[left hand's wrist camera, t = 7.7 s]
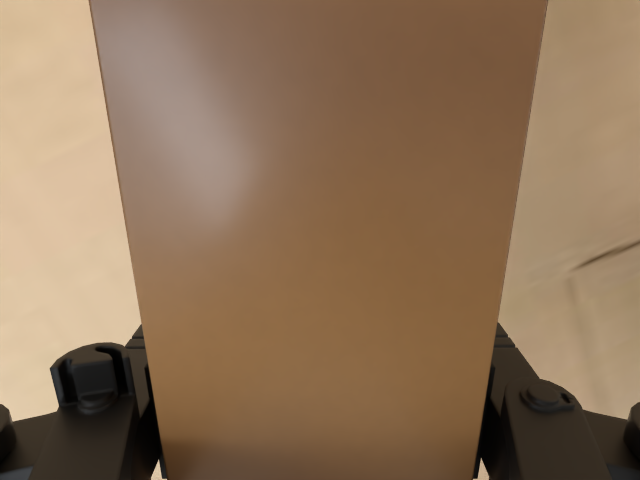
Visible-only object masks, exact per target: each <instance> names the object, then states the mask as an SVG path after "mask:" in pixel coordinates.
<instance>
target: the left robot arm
mask: <svg viewBox="0 0 640 480" xmlns="http://www.w3.org/2000/svg"><path fill="white" fill-rule="evenodd" d="M50 371H51V375H52V379H53V383H54V387H55V391H56V395H57V399H58V403H59V408H58V410H57V412H53V413H50V414H46V415H42V416H37V417H33V418H28V419H23V420H19V421H14V422H12V419H11V415H10V412H9V410H8V409H7V408H6V407H5V406H3V405H2V404H0V480H151V476H152V474H153V471H154V469H155V467H156V464H157V462H158V460H159V462H160V468H161V474H162V479H167V475H166V469H165V463H164V457H163V451H162V445H161V439H160V432H159V426H158V420H157V414H156V408H155V402H154V396H153V390H152V384H151V378H150V371H149V365H148V359H147V353H146V347H145V341H144V335H143V329H142V324H141V325H140V326H139V328H138V329H137V331H136V332H135V333H134V335H133V336H132V339H130V340H129V342H128V343H127V344H126V346H125V347H124V346H123V345H120V344H116V343H112V342H110V343H95V344H91V345H86V346H82V347H80V348H77V349H75V350H72V351H70V352H68V353H66V354H65V355H63V356H62V357H60V358H59V359H57V360H56V362H55V363H54V364H53V365H52V366H51V368H50ZM481 458H482V461H483V463H484V465H485V468H486V470H487V472H488V475H489V480H640V402H638V403H637V404H635V405H634V406H633V407H632V408H631V411H630V414H629V417H628V420H626V419H621V418H616V417H612V416H607V415H602V414H598V413H593V412H590V411H586V410H583V409H582V407H581V405H580V404H579V402H578V401H577V399H576V398H575V397H574V396H573V395H572V394H571V393H569V392H568V391H567V390H565V389H564V388H563V387H561V386H558V385H556V384H554V383H552V382H550V381H546V380H542V379H540V378H539V377H538V376H537V374H536V373H535V372H534V370H533V369H532V367H531V366H530V365H529V363H528V362H527V361H526V359H525V358H524V357H523V355H522V354H521V352H520V351H519V350H518V348H515V344H514V343H513V342H512V340H511V339H510V338H508V335H507V333H506V332H505V331H504V329H503V328H502V327H501V325H500V324H499V323H498V322H497V328H496V334H495V341H494V347H493V354H492V360H491V366H490V373H489V379H488V385H487V392H486V398H485V404H484V411H483V417H482V424H481V430H480V436H479V443H478V449H477V455H476V462H475V468H474V475H473V479H477V478H478V472H479V466H480V460H481Z"/></svg>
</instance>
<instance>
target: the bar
mask: <svg viewBox="0 0 640 480" xmlns="http://www.w3.org/2000/svg"><path fill="white" fill-rule="evenodd" d="M547 3H548V0H89V5H90V11H91V17H92V23H93V29H94V35H95V42H96V48H97V54H98V60H99V66H100V72H101V78H102V84H103V90H104V97H105V103H106V109H107V115H108V121H109V127H110V133H111V139H112V145H113V152H114V158H115V164H116V170H117V176H118V182H119V188H120V194H121V200H122V206H123V213H124V219H125V225H126V231H127V237H128V243H129V249H130V255H131V261H132V268H133V274H134V280H135V286H136V292H137V298H138V304H139V310H140V316H141V323H142V329H143V335H144V341H145V347H146V353H147V359H148V365H149V371H150V378H151V384H152V390H153V396H154V402H155V408H156V414H157V420H158V426H159V432H160V439H161V445H162V451H163V457H164V463H165V469H166V475H167V480H473V475H474V468H475V462H476V455H477V449H478V443H479V436H480V430H481V424H482V417H483V411H484V404H485V398H486V392H487V385H488V379H489V373H490V366H491V360H492V354H493V347H494V341H495V334H496V328H497V322H498V315H499V309H500V303H501V296H502V290H503V283H504V277H505V271H506V264H507V258H508V252H509V245H510V239H511V232H512V226H513V220H514V213H515V207H516V201H517V194H518V188H519V182H520V175H521V169H522V162H523V156H524V150H525V143H526V137H527V131H528V124H529V118H530V111H531V105H532V99H533V92H534V86H535V80H536V73H537V67H538V60H539V54H540V48H541V41H542V35H543V29H544V22H545V16H546V10H547Z"/></svg>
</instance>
